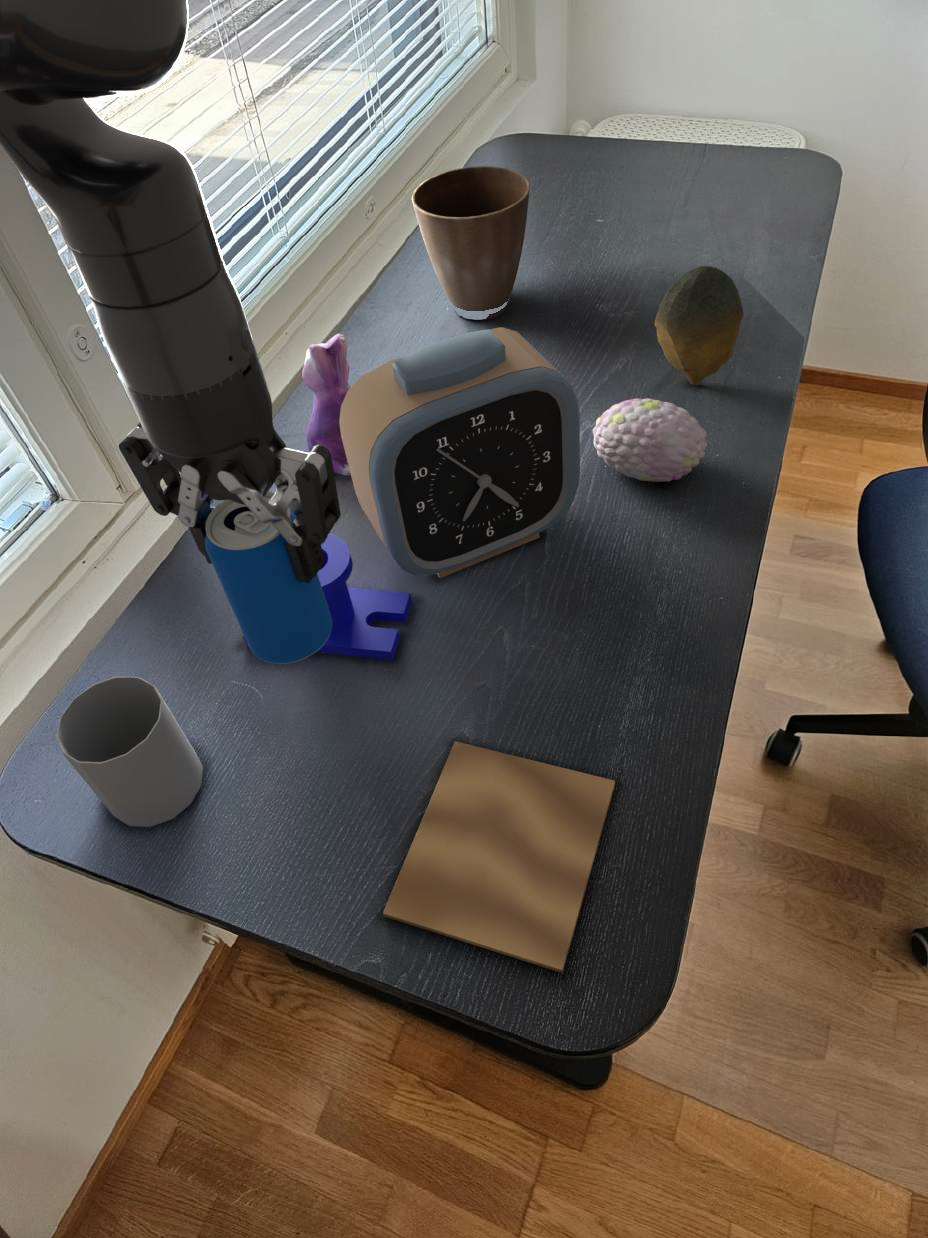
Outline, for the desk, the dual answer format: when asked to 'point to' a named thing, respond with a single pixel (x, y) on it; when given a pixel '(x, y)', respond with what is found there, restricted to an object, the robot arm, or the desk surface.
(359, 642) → the mount
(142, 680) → the cup
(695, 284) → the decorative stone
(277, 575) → the beverage can
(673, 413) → the decorative item
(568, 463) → the alarm clock
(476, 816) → the cork mat
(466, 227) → the flower pot
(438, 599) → the desk surface
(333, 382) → the figurine
